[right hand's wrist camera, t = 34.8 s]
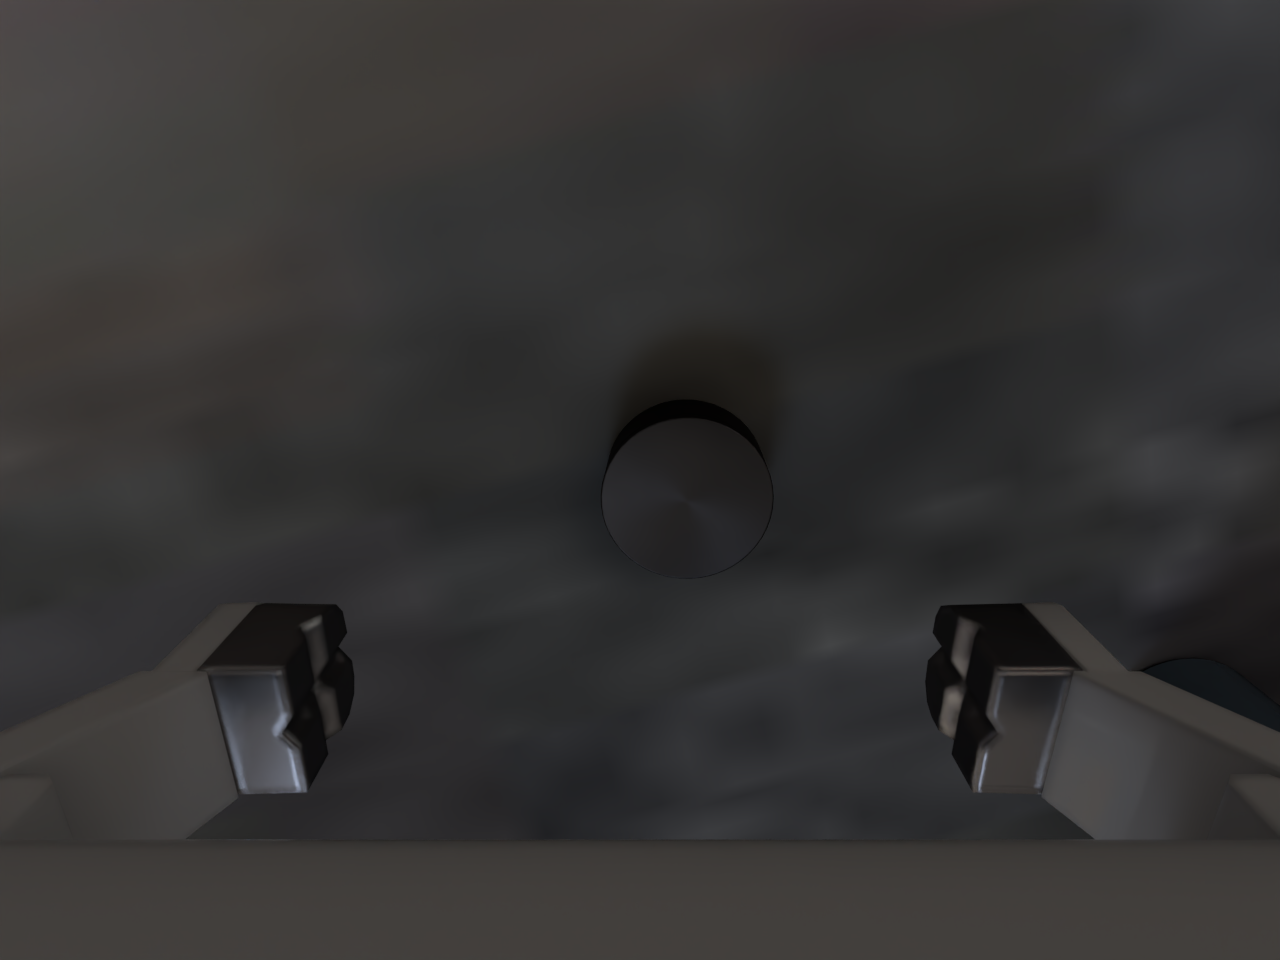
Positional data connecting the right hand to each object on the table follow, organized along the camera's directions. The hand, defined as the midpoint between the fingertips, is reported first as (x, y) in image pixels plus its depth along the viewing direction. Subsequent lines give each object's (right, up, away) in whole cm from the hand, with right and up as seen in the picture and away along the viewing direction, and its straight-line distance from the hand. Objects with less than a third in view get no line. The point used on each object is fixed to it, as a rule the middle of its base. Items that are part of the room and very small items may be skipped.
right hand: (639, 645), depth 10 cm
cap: (+1, +2, +9) cm, 9 cm away
